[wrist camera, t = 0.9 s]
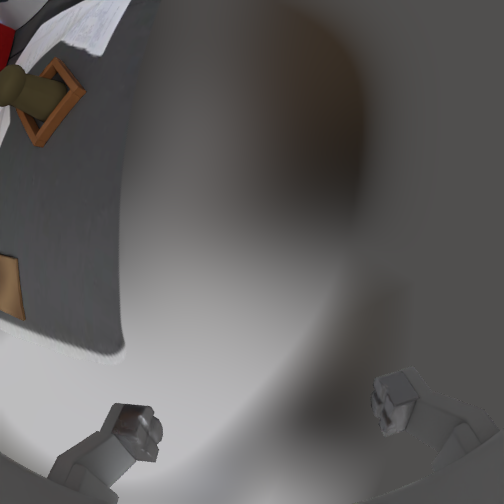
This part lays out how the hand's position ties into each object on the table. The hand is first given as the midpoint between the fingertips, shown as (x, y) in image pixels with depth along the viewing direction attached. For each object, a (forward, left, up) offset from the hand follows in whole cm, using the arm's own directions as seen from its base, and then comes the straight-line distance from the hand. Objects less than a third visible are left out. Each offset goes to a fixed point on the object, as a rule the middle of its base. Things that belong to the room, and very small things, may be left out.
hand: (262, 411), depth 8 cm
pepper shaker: (-36, -6, -20) cm, 41 cm away
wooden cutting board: (-27, -35, -20) cm, 49 cm away
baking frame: (-36, -6, -20) cm, 41 cm away
